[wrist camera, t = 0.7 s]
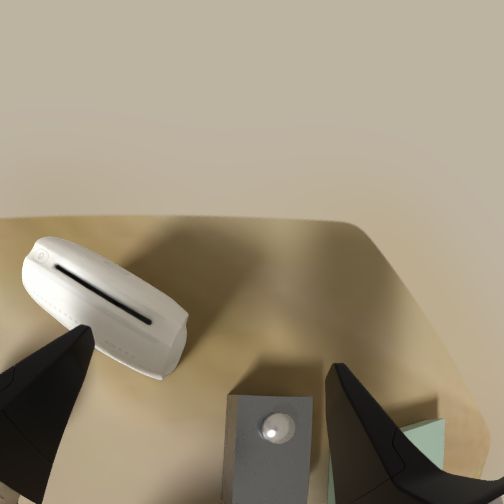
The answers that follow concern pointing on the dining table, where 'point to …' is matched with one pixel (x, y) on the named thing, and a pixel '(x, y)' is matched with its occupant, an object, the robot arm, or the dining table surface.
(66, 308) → the photo printer
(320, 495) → the dining table surface
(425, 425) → the sage stand
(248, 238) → the dining table surface
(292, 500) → the graphite housing
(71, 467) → the dining table surface
